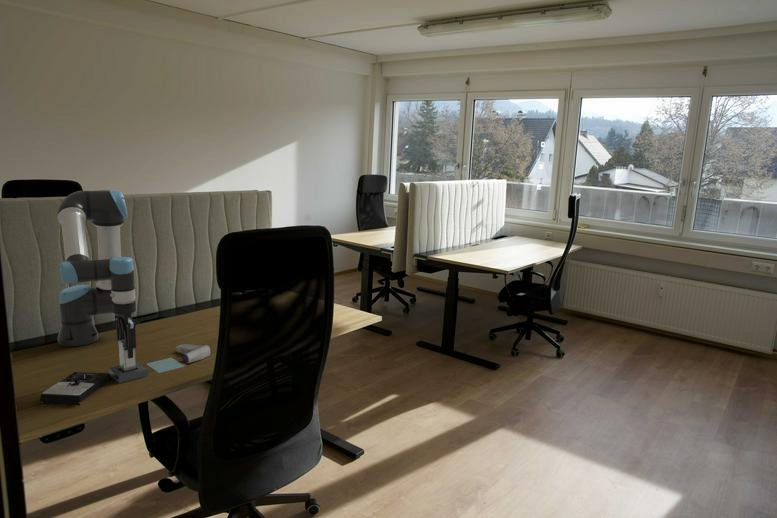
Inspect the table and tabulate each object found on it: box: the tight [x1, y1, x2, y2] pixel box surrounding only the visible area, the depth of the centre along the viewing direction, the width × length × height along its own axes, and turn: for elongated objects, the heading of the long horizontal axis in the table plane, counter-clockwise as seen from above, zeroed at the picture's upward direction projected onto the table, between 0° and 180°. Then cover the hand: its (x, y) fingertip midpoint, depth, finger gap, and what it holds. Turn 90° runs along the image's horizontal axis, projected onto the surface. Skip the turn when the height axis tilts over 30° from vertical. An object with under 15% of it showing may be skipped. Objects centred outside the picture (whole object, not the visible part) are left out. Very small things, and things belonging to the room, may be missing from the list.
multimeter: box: [40, 371, 112, 406], centre depth 189 cm, size 13×19×5 cm
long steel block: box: [117, 339, 136, 373], centre depth 201 cm, size 4×4×13 cm
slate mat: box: [146, 357, 186, 374], centre depth 213 cm, size 12×10×1 cm
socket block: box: [108, 361, 149, 384], centre depth 202 cm, size 10×10×4 cm
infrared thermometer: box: [175, 343, 211, 364], centre depth 224 cm, size 5×12×15 cm
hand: (127, 364), depth 201 cm, fingers closed on long steel block, 4 cm apart
